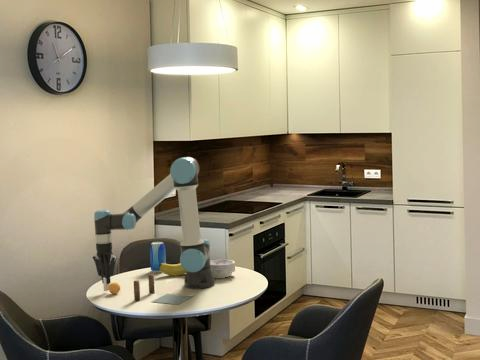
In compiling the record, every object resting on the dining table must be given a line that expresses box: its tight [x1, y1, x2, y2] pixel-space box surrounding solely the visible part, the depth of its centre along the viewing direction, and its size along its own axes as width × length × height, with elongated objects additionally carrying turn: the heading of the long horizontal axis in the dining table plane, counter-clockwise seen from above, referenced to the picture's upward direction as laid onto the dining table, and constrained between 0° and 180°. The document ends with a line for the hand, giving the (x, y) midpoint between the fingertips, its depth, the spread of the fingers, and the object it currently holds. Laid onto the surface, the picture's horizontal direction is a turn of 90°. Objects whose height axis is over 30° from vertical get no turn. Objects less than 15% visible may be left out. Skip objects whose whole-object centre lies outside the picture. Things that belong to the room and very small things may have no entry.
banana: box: [159, 262, 187, 277], centre depth 323 cm, size 23×6×20 cm, turn 106°
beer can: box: [149, 241, 167, 274], centre depth 333 cm, size 8×8×16 cm
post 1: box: [133, 279, 141, 302], centre depth 277 cm, size 3×3×9 cm
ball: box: [108, 282, 121, 295], centre depth 289 cm, size 6×6×6 cm
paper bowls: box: [210, 259, 236, 279], centre depth 317 cm, size 15×15×8 cm
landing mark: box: [151, 293, 194, 306], centre depth 277 cm, size 14×14×1 cm
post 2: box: [147, 273, 156, 295], centre depth 288 cm, size 3×3×9 cm
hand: (106, 290), depth 292 cm, fingers closed
